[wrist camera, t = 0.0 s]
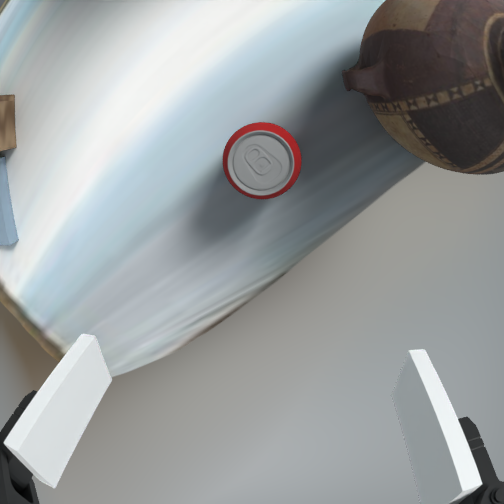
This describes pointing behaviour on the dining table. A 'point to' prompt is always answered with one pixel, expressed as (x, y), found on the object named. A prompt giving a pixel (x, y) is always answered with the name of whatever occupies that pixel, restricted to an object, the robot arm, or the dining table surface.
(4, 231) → the panel
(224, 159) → the beverage can
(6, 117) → the shelf
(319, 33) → the dining table surface
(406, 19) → the vase
